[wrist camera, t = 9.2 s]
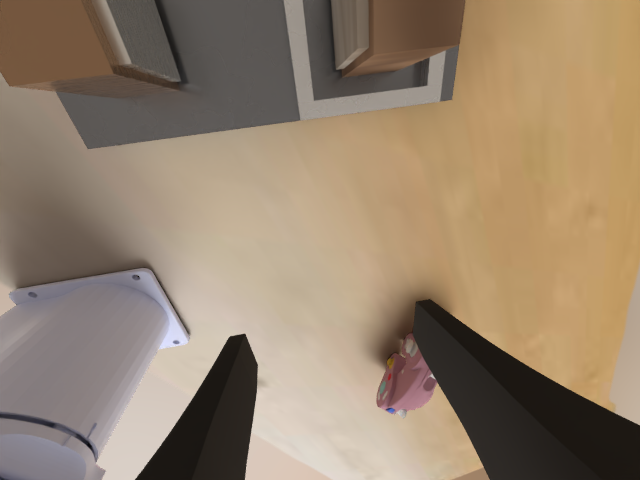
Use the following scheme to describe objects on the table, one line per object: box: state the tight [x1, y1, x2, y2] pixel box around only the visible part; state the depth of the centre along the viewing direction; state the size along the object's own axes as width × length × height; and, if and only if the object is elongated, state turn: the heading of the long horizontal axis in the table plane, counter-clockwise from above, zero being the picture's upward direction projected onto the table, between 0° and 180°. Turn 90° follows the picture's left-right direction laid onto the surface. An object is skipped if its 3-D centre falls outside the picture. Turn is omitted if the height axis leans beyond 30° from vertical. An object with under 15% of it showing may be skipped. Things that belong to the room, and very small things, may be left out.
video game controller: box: [377, 333, 437, 418], centre depth 23 cm, size 10×5×7 cm, turn 159°
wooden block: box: [331, 0, 465, 78], centre depth 9 cm, size 3×4×5 cm
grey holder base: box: [0, 0, 459, 149], centre depth 9 cm, size 20×8×6 cm, turn 97°
